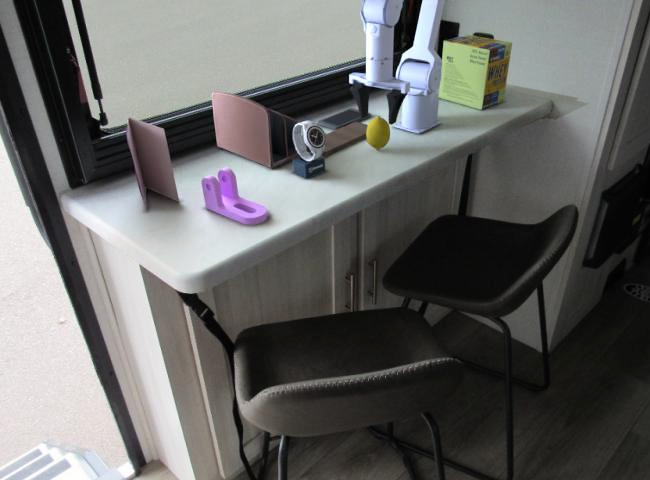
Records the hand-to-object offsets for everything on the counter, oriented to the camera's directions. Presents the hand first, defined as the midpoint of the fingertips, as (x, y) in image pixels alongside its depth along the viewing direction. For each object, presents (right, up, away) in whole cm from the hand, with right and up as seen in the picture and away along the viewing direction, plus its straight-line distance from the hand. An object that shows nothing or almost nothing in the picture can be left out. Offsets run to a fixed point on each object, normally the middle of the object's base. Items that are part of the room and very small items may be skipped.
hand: (378, 120), depth 129 cm
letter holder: (-28, -6, +6) cm, 29 cm away
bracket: (-29, -24, -18) cm, 42 cm away
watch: (-15, -13, -4) cm, 21 cm away
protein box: (+29, +16, +32) cm, 46 cm away
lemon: (0, -6, +5) cm, 7 cm away
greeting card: (-46, -20, -12) cm, 51 cm away
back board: (-8, -2, +10) cm, 13 cm away
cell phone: (-7, +6, +21) cm, 23 cm away
